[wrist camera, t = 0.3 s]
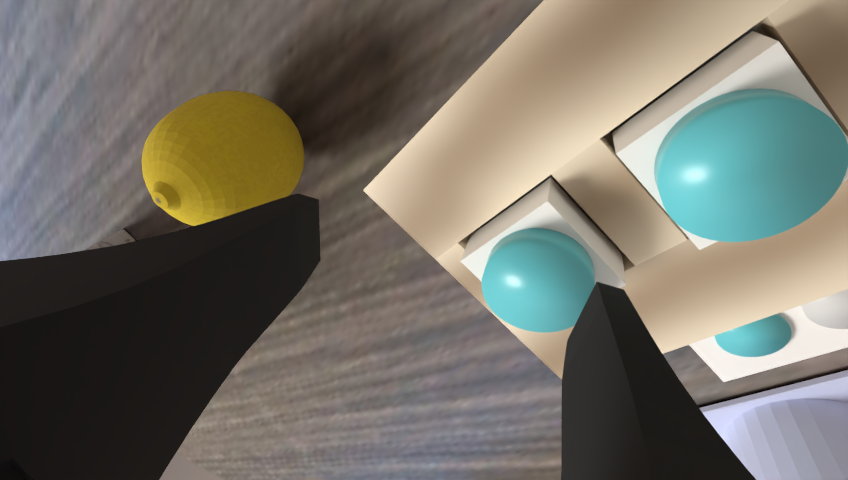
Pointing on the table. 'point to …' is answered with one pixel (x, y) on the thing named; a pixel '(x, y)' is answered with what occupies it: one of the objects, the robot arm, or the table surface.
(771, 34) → the button board
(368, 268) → the table surface
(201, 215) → the lemon
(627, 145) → the button mid
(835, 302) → the card
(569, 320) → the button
